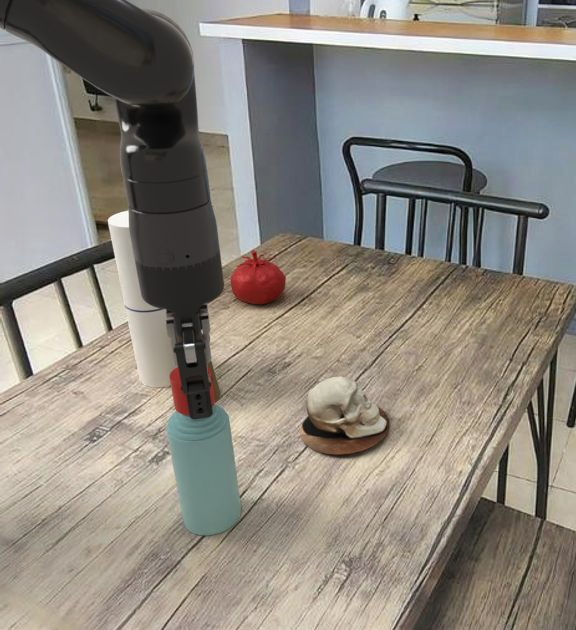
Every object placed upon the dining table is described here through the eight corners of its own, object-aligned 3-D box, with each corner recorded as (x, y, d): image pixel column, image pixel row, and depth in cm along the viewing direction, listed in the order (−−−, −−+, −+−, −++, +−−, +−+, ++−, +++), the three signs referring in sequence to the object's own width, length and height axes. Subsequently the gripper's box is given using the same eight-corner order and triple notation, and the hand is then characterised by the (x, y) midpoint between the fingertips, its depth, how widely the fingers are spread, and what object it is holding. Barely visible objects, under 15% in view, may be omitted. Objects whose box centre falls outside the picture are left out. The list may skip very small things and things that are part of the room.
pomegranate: (262, 315, 121) (258, 267, 116) (221, 301, 125) (215, 254, 121) (298, 294, 128) (295, 248, 124) (258, 282, 133) (253, 237, 128)
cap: (213, 390, 73) (209, 359, 71) (217, 410, 70) (213, 379, 68) (173, 397, 72) (168, 366, 70) (176, 418, 68) (170, 387, 67)
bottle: (182, 540, 74) (156, 401, 66) (183, 500, 80) (159, 366, 71) (242, 529, 76) (224, 392, 67) (239, 491, 81) (222, 359, 73)
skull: (402, 400, 97) (390, 381, 87) (384, 472, 93) (369, 461, 84) (323, 384, 99) (302, 364, 90) (303, 454, 96) (280, 441, 86)
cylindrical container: (151, 393, 99) (120, 231, 87) (131, 372, 103) (99, 216, 92) (197, 375, 103) (173, 219, 91) (176, 357, 108) (151, 205, 96)
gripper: (225, 274, 58) (244, 434, 66) (214, 218, 70) (231, 359, 78) (130, 284, 56) (162, 449, 63) (136, 225, 68) (162, 369, 75)
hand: (200, 399), depth 71 cm, fingers open, 5 cm apart
